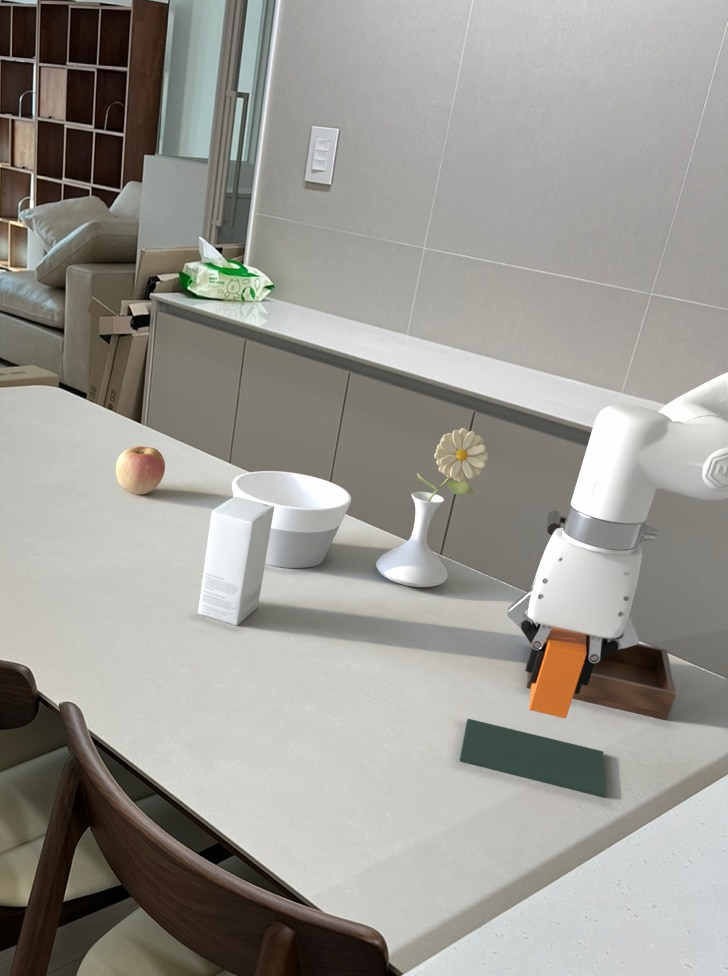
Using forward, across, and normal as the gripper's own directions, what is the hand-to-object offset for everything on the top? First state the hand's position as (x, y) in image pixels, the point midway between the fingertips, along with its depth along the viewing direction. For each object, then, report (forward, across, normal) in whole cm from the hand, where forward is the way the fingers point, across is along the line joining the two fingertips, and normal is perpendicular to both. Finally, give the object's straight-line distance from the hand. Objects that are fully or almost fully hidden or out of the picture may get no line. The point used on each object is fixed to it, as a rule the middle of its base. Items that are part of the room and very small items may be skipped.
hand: (554, 682), depth 118 cm
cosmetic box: (+10, +43, -21) cm, 49 cm away
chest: (+10, -8, -26) cm, 29 cm away
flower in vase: (+10, +20, -49) cm, 54 cm away
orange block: (+3, 0, 0) cm, 3 cm away
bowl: (+10, +42, -49) cm, 65 cm away
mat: (+10, 0, 0) cm, 10 cm away
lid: (-3, 0, -26) cm, 26 cm away
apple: (+10, +73, -64) cm, 97 cm away
